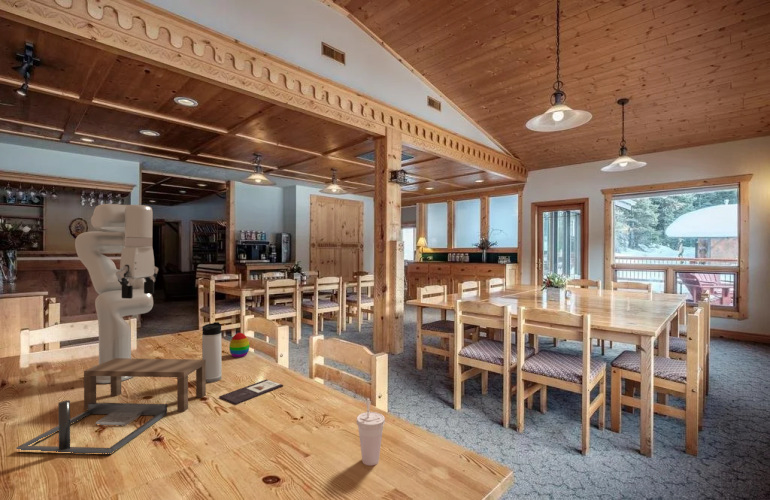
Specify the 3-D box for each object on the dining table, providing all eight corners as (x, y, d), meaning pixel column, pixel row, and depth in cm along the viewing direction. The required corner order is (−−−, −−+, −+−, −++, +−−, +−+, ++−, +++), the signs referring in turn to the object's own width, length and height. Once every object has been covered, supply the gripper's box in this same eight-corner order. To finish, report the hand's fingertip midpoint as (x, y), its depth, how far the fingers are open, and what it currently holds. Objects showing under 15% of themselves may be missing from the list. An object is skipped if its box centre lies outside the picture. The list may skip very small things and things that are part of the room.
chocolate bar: (219, 396, 118) (266, 379, 133) (219, 399, 118) (266, 382, 133) (236, 403, 113) (283, 385, 128) (235, 406, 113) (283, 387, 128)
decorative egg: (252, 355, 163) (252, 332, 163) (235, 359, 157) (234, 336, 157) (243, 351, 169) (243, 329, 169) (225, 355, 163) (225, 333, 163)
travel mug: (225, 376, 137) (225, 322, 137) (215, 383, 131) (215, 326, 130) (209, 375, 138) (209, 321, 138) (198, 382, 131) (198, 325, 131)
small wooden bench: (84, 409, 109) (83, 370, 109) (115, 393, 121) (115, 358, 121) (184, 411, 108) (183, 372, 108) (205, 395, 120) (205, 359, 120)
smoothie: (356, 453, 87) (356, 393, 87) (383, 452, 87) (383, 392, 87) (356, 469, 80) (356, 405, 80) (386, 468, 81) (386, 404, 81)
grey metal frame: (13, 454, 86) (13, 403, 86) (91, 412, 107) (90, 371, 107) (108, 456, 85) (107, 404, 85) (167, 413, 106) (166, 372, 106)
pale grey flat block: (95, 427, 100) (95, 421, 100) (112, 417, 106) (112, 411, 106) (125, 427, 100) (125, 422, 100) (140, 417, 106) (140, 412, 106)
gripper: (146, 242, 130) (146, 291, 130) (106, 243, 112) (105, 299, 113) (167, 243, 129) (166, 292, 130) (129, 243, 112) (129, 300, 112)
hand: (138, 295), depth 121 cm, fingers open, 9 cm apart
